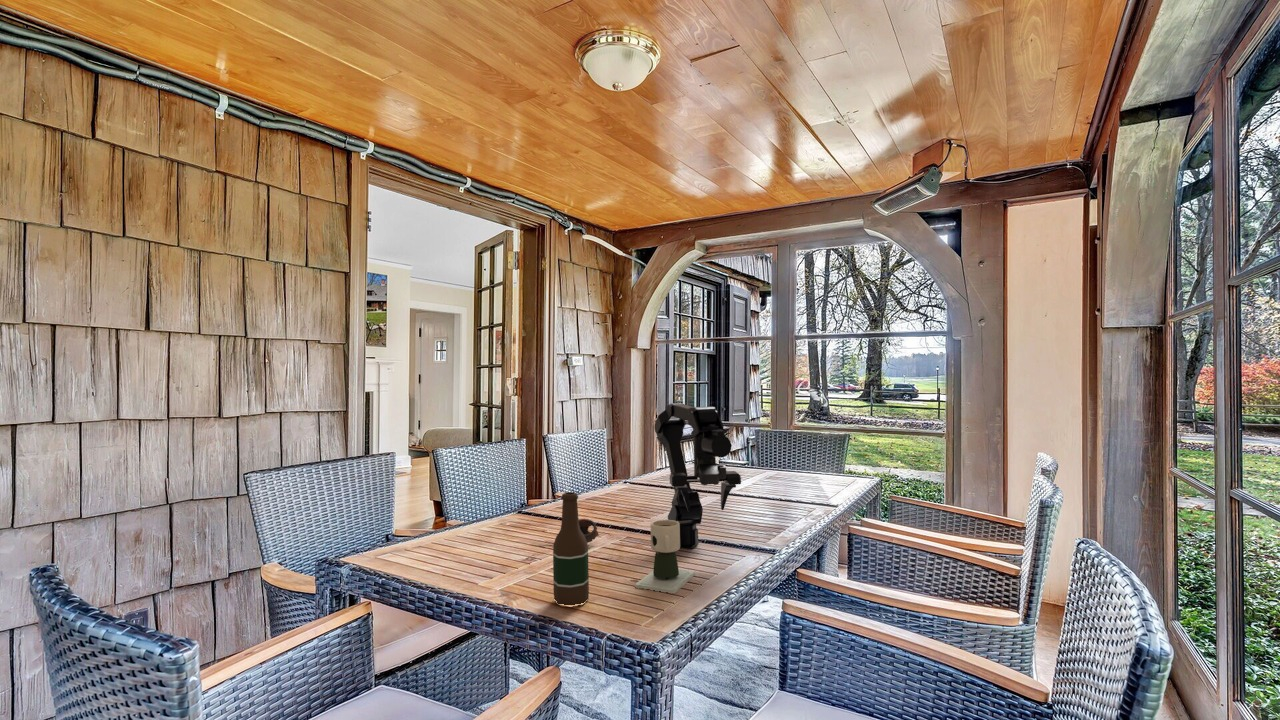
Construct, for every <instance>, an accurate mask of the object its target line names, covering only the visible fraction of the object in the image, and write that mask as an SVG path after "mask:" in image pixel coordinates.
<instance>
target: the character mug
mask: <svg viewBox="0 0 1280 720" xmlns="http://www.w3.org/2000/svg"><path fill="white" fill-rule="evenodd" d="M650 547H651V549H650V550H652V551H655V554H654V560H653V561H654V562H653V570H652V571H653V573H654V576H655V577H656V578H666V579H668V578H669V577H675V576H678V575H679V570H678V569H679V564H678V558H677V554H676V552H677V551H679V550H680V548H681V547H680V523H679V522H678V521H674V520H668V519H657V520H654V521H651V522H650Z"/></svg>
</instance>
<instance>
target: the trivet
mask: <svg viewBox="0 0 1280 720" xmlns="http://www.w3.org/2000/svg"><path fill="white" fill-rule="evenodd" d="M678 570H679V575H678V576H675V577H669V578H668V579H666V578H656V577H655V576H654V573H653V570H652V571H651V572H649V573H648V574H647V575H646V576H644V577H643V578H642V579H639V581H638V582H636V583H635V584H634V588H635V587H636V588H635V589H639V588H644V589H643V590H646V589H650V590H649V591H653V590H655V591H654V592H659V591H661V593H666V592H668V594H672V593H675V594H676V593H677V592H678V591H679V590H681V588H683V586H686V584H687V583H688V582H689V581H690V580H691V579H692V578H694V577H695V575H696V571H695V570H689V569H688V570H687V569H682V568H678Z"/></svg>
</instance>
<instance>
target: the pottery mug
mask: <svg viewBox="0 0 1280 720" xmlns="http://www.w3.org/2000/svg"><path fill="white" fill-rule="evenodd" d="M578 519H579V526H580V530H581V531H582V533H583V534H584V536H585V538H586V541H587V544H588V543H591V542H593V540H595V539H596V537H598V536H600V534H599V532H598V527H597V525H596V522H594V521H593V520H592V519H588V518H578ZM591 526H592V528H593V529H592V531H589V528H590V527H591Z"/></svg>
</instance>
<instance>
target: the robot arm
mask: <svg viewBox="0 0 1280 720" xmlns="http://www.w3.org/2000/svg"><path fill="white" fill-rule="evenodd" d="M719 414H720V413H719V412H718V411H717V408H716V407H715V406H691V405H687V404H684V403H683V402H682V403H681V402H679V403H676V402H675V403H674V402H673V403H670V404H667V406H666V408H665V410H663V411H662V412H661V413H660V414H658V416H657V418H656V420H655V421H654V427H653V428H654V432H655V433H656V436H657V439H658V442H659V443H661V444H662V446H664V448H665V451H666V457H667V463H668V466H669V472H670V474H669V484H670V486H671V487H673V489H674V494H673V497H672V500H671V509H670V510H669V513H668V514H667V520H674V521H678V522H679V523H680V548H683V549H693V548H694V547H696V546H697V545H698V544H699V543H700V542H699V529H698V528H697V525H702V524H701V523H702V519H703V512H704V510H703V505H702V503H701V499H700V494H699V493H698V491H694V490H693V488H691V484H690V483H700V484H701V486H702V485H703V486H707V485H713V486H717V485H719V483H720V482H721V483H720V510H721V511H724V509H725V506H726V504H727V500H728V497H729V494H730V492H731V491H732V489H734V488H737V485H741V484H742V476H741V474H739V473H738V472H737V471H735V470H727V467H726V465H725V464H718V465H717V463H716V462H717V460H716V457H717V458H725V457H726V456H728V455H729V454H730V452H731V451H732V442H731V440H730V438H728V436H726V435H725V429H724V427H725V425H724V423H723V421H722V420H721V417H720V415H719ZM686 421H687V422H686ZM687 423H688V424H687ZM686 425H689V426H690V427H691V428H692V431H691V432H690V435H691V436H692V437H693V438H692V439H693V472H694V473H693V474H694V475H688V471H687V466H686V462H685V461H686V460H685V457H684V454H683V450H682V449H683V448H682V445H681V443H682V439H683V436H684V429H685V426H686Z"/></svg>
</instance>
